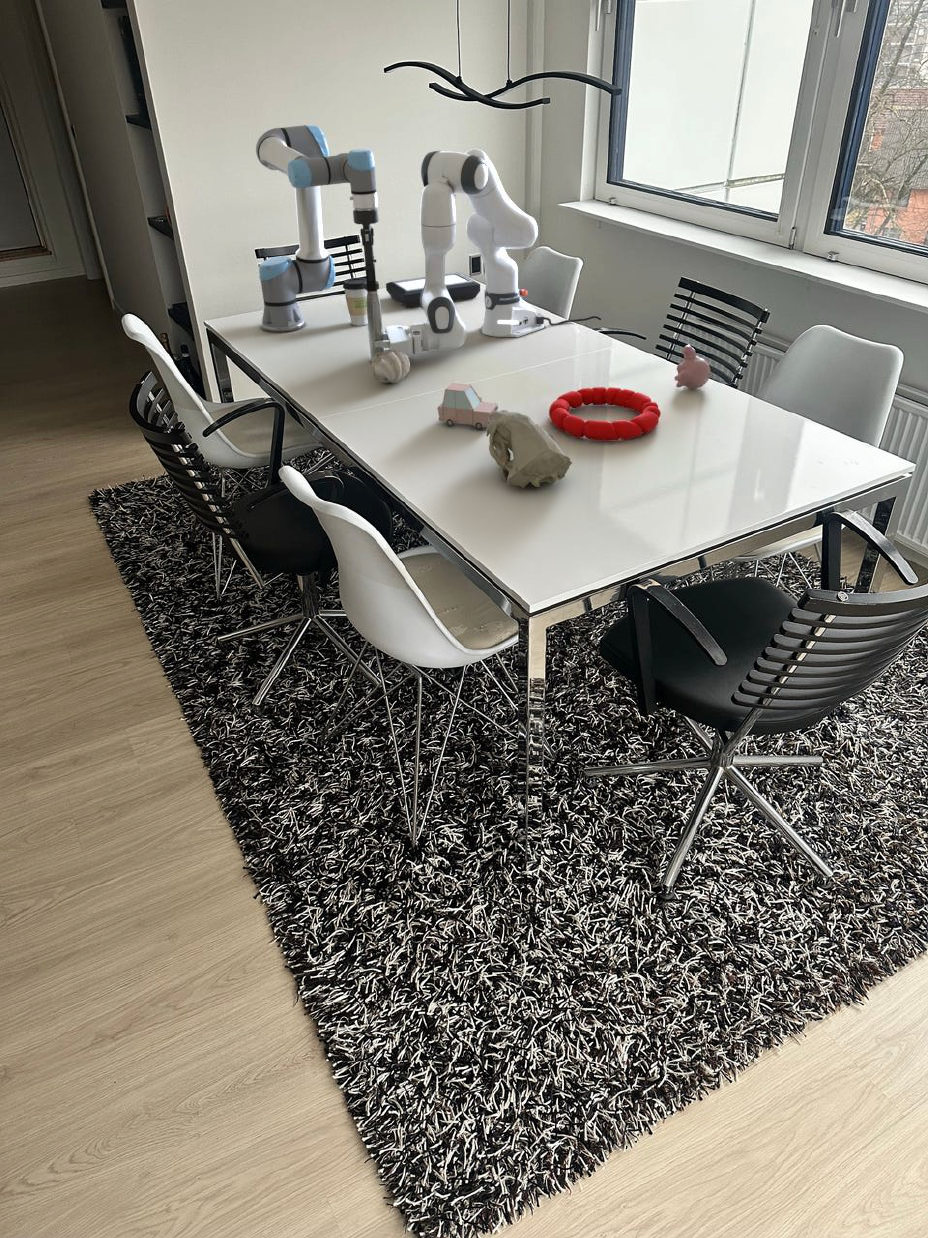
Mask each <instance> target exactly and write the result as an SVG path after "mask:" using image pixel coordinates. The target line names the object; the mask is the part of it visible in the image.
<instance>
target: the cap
mask: <svg viewBox="0 0 928 1238" xmlns="http://www.w3.org/2000/svg"><path fill="white" fill-rule="evenodd" d="M375 282H376V290H377V291H378V290H380V283H379V281H377V280H376V281H375ZM364 286H365V290H367V282H365V283H364Z"/></svg>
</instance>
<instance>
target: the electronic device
mask: <svg viewBox="0 0 928 1238" xmlns="http://www.w3.org/2000/svg"><path fill="white" fill-rule="evenodd" d="M425 278H426V276H422V277H416V278H409V279H402V280H395V281H389V282H386V283H385V290H386V292H387V293H388V295H389V296H390V298H391V299H393V300H395V301H396V302H397V303H400V305H402V306H404V307H405V308H406V309H409V308H415V307H421V304H420V296H421V292H422V290H423V287H424V285H425ZM445 285H446V287H447V289H448V292H449V294H450V297H451V299H452V301H453V302H457V301H463V300H469V299H470V300H471V299H476V297H477V296H478V295H479V293H480V292H481V284H480V283H479V282H477V281H475V280H473V279H471V278H470V277H467V276H466V275H464V274H462V273H460V272H452V273H445Z"/></svg>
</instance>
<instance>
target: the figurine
mask: <svg viewBox="0 0 928 1238" xmlns="http://www.w3.org/2000/svg"><path fill="white" fill-rule="evenodd" d="M682 354H683V358H684V359H683V361H682V362H679V363H678V364H677V365H676V372H677V375H675V376H674V381H675V382H676V381H677V382H676V384H675V386H676V388H681V387H686V388H688V389H693V390H694V389H695V390H696V389H700V388H703V387H704V386H705V385H706V384H707V383H708V382H709V379H710V377H711V367H710V364H709V362H708V361H706V359H704V358H702V357H700V356H697V353H696V350H695V349H694V347H692V345H690V344H686V345H685V346H684V347H683V348H682Z"/></svg>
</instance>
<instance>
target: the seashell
mask: <svg viewBox="0 0 928 1238" xmlns="http://www.w3.org/2000/svg"><path fill="white" fill-rule="evenodd" d="M410 368H411V362H410V358H409V357H408V355H407V354H405V353H404V354H403V353H402V352H401V351H396V350H390V349H384V352H383V353H376V354H375V357H374V358H373V361H372V362H371V371H372V374H373V377H375V378H376V379H377V380H378V381H379V382H380V383H384V384H388V383H389V382H390V383H393V384H396V383H400V382H402V381H403V380H404V378H406V376H407V375H408V373H409V372H410Z"/></svg>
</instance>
